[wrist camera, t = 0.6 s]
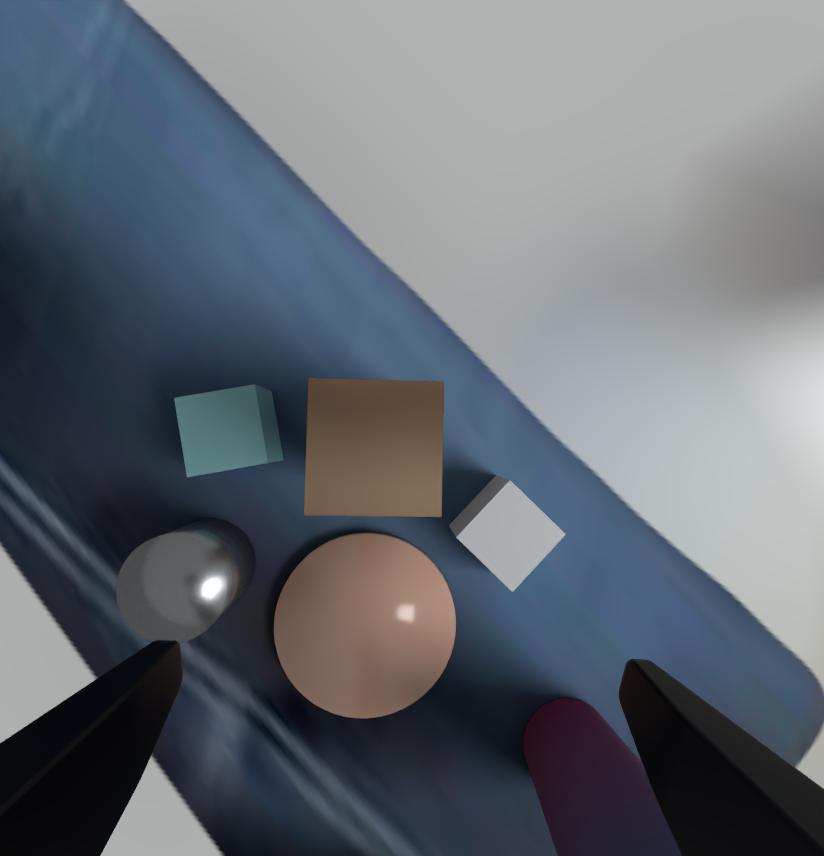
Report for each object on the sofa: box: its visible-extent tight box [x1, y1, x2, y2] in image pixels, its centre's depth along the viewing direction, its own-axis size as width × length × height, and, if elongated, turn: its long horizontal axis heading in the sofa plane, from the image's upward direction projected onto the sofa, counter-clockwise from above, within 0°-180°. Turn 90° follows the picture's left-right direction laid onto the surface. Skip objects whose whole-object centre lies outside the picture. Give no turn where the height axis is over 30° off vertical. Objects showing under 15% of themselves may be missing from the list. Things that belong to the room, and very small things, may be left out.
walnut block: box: [304, 378, 444, 517], centre depth 18 cm, size 4×4×10 cm
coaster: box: [274, 532, 456, 718], centre depth 23 cm, size 10×10×1 cm
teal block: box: [174, 384, 283, 477], centre depth 22 cm, size 4×4×3 cm
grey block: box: [449, 476, 566, 592], centre depth 22 cm, size 4×4×3 cm
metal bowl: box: [116, 519, 256, 643], centre depth 21 cm, size 5×5×4 cm
